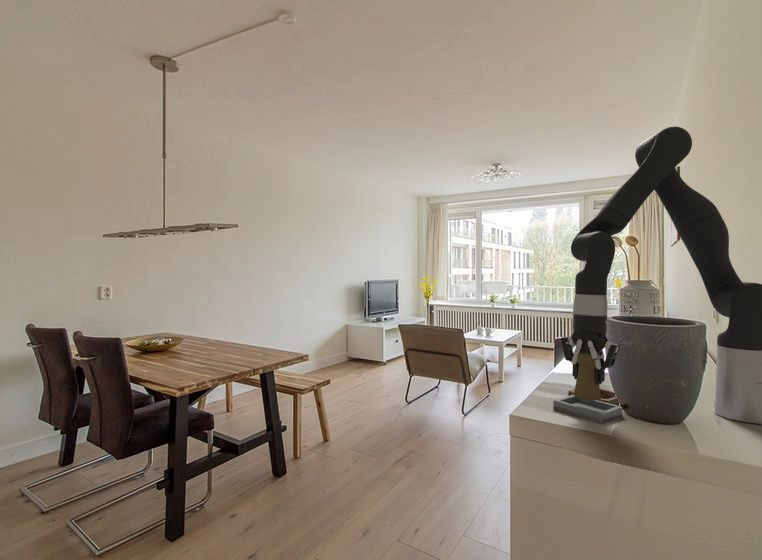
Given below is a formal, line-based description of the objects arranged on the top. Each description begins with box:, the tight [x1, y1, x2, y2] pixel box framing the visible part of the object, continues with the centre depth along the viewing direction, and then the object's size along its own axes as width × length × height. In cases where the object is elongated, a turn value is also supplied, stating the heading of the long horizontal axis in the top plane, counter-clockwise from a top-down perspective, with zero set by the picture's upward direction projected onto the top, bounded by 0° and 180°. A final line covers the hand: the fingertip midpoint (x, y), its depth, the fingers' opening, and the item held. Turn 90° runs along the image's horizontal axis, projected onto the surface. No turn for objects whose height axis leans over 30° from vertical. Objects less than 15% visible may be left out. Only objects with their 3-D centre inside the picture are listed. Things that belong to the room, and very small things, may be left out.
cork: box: [574, 353, 601, 400], centre depth 99 cm, size 6×6×11 cm
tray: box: [553, 395, 623, 425], centre depth 99 cm, size 12×10×2 cm
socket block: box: [567, 387, 619, 406], centre depth 107 cm, size 10×10×2 cm
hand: (587, 381), depth 99 cm, fingers closed on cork, 4 cm apart
